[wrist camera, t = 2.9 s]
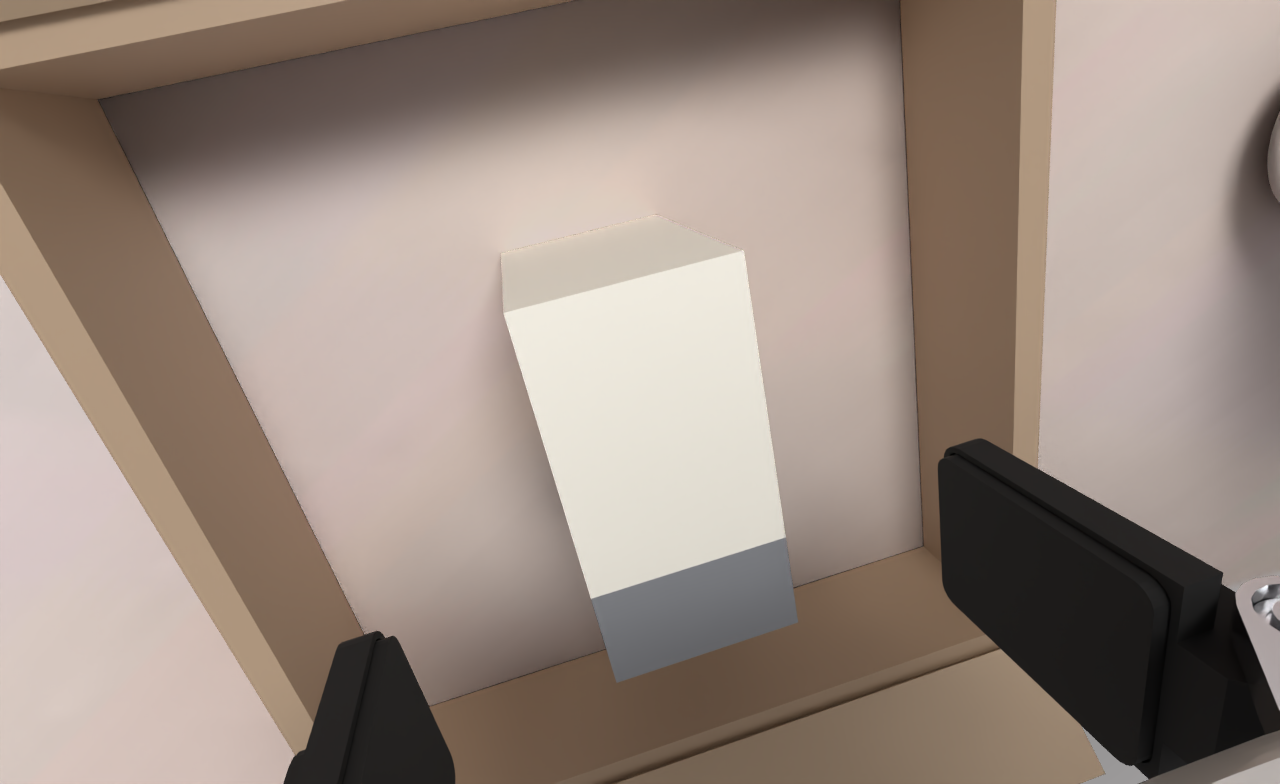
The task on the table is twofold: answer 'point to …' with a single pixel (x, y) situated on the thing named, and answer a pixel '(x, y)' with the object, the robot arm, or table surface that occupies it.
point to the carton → (586, 687)
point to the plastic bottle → (1274, 160)
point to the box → (655, 434)
